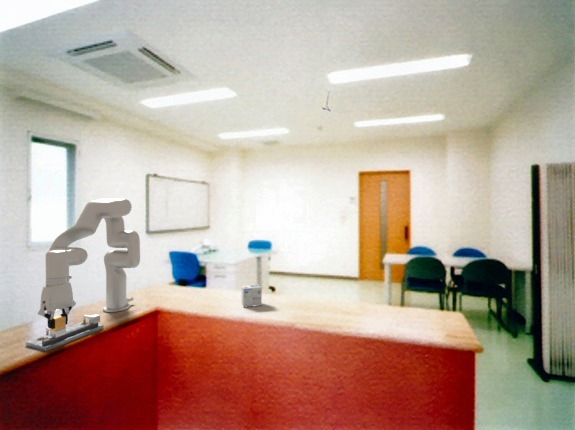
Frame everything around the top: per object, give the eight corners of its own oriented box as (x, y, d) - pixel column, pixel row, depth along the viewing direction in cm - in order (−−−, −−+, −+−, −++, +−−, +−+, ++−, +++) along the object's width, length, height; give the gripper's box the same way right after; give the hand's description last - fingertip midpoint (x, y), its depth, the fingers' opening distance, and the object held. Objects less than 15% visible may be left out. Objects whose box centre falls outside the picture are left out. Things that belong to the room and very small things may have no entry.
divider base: (84, 324, 145) (84, 311, 144) (103, 328, 140) (103, 315, 140) (26, 345, 122) (25, 330, 122) (46, 351, 118) (45, 335, 118)
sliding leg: (52, 333, 129) (51, 313, 129) (66, 336, 126) (66, 316, 126) (41, 336, 125) (41, 316, 125) (55, 340, 122) (55, 319, 122)
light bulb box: (259, 302, 181) (259, 284, 181) (261, 306, 175) (262, 287, 175) (241, 304, 178) (241, 285, 178) (243, 307, 171) (243, 288, 171)
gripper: (72, 275, 133) (72, 318, 134) (27, 285, 118) (28, 332, 118) (84, 277, 131) (84, 320, 131) (40, 287, 115) (41, 335, 115)
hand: (57, 325), depth 125 cm, fingers closed on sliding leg, 4 cm apart
